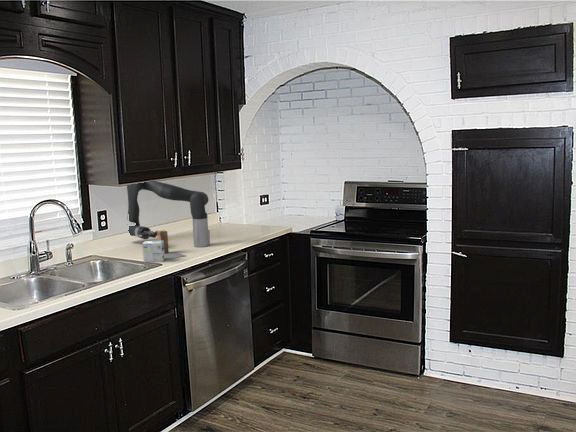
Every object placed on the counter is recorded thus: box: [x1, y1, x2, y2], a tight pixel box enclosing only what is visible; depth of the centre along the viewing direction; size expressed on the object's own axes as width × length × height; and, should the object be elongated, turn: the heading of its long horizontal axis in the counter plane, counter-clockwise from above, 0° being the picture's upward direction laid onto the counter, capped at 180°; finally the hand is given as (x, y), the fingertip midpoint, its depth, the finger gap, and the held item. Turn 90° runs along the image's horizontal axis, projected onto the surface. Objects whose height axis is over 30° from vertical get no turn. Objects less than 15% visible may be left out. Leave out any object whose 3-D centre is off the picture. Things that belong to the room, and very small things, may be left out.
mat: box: [164, 251, 187, 261], centre depth 323 cm, size 12×14×1 cm
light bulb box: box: [142, 240, 166, 263], centre depth 312 cm, size 11×7×11 cm, turn 92°
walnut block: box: [156, 229, 170, 254], centre depth 330 cm, size 4×4×13 cm
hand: (154, 236), depth 338 cm, fingers closed
